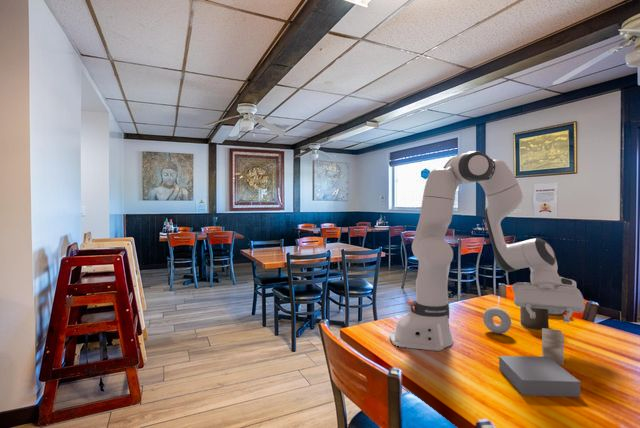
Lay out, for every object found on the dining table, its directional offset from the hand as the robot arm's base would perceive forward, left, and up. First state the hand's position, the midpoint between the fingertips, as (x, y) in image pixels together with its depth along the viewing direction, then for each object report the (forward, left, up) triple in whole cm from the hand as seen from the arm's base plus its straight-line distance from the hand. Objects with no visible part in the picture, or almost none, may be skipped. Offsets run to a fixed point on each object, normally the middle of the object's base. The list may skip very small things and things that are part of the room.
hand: (549, 319), depth 111 cm
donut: (-11, +16, -11) cm, 22 cm away
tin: (+20, +40, -11) cm, 46 cm away
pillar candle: (+7, +25, -11) cm, 28 cm away
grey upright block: (-3, -6, -11) cm, 13 cm away
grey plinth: (-15, -20, -11) cm, 27 cm away
